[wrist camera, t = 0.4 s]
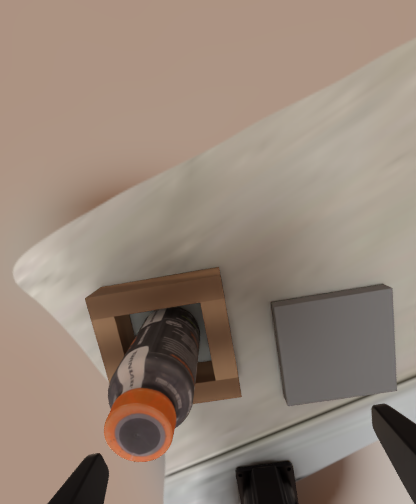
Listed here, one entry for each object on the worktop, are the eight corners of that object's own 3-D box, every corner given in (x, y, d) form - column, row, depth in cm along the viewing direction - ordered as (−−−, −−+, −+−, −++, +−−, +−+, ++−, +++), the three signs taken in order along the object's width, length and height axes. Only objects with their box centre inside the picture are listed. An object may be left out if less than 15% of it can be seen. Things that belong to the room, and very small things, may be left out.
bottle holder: (238, 374, 25) (241, 396, 22) (129, 390, 26) (118, 414, 23) (219, 266, 23) (219, 275, 20) (100, 287, 24) (84, 298, 21)
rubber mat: (388, 382, 25) (396, 390, 24) (284, 397, 25) (287, 406, 24) (383, 284, 23) (392, 288, 22) (270, 302, 24) (274, 307, 22)
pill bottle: (138, 308, 24) (73, 395, 13) (195, 301, 24) (181, 383, 13) (148, 361, 25) (97, 483, 14) (204, 354, 25) (197, 474, 14)
